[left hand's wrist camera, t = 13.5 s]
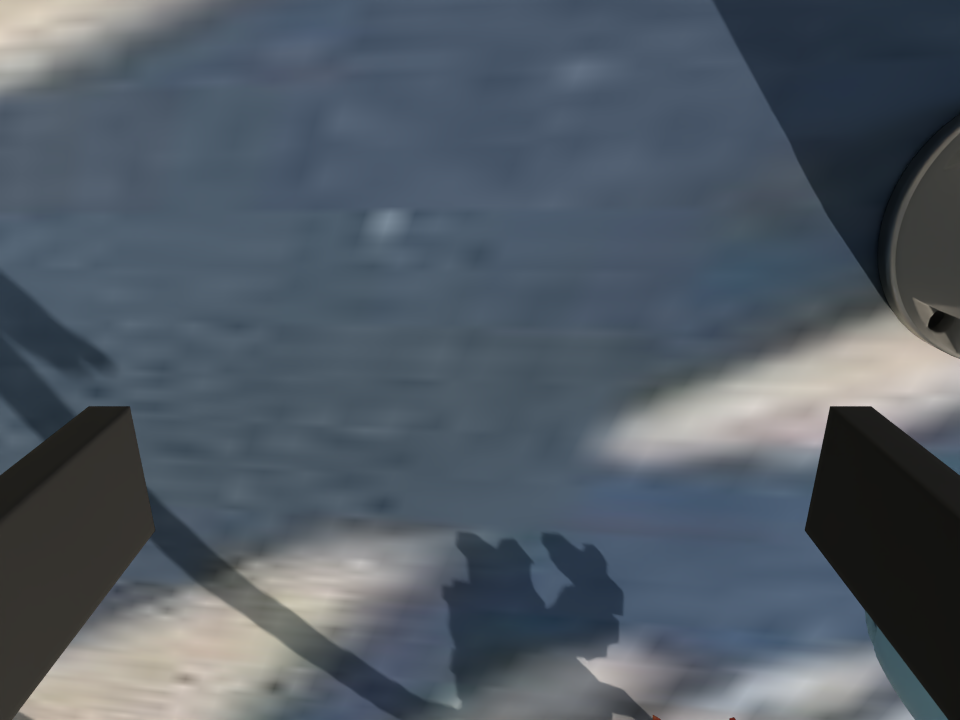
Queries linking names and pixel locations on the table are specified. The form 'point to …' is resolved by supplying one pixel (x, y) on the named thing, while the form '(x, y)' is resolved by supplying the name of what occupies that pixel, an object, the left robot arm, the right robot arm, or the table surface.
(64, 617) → the left robot arm
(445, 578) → the table surface
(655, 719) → the toy
